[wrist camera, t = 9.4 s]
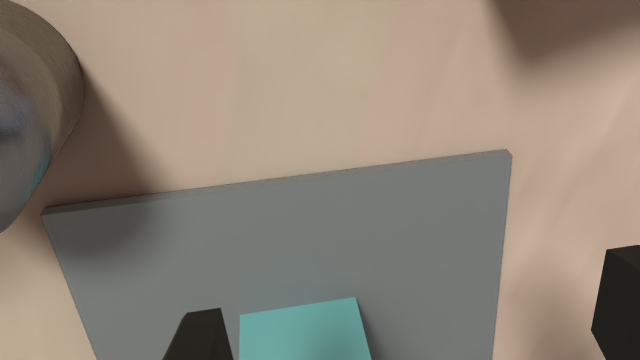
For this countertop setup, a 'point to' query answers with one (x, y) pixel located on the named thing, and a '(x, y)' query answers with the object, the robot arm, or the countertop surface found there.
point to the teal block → (305, 333)
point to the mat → (297, 256)
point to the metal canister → (32, 103)
